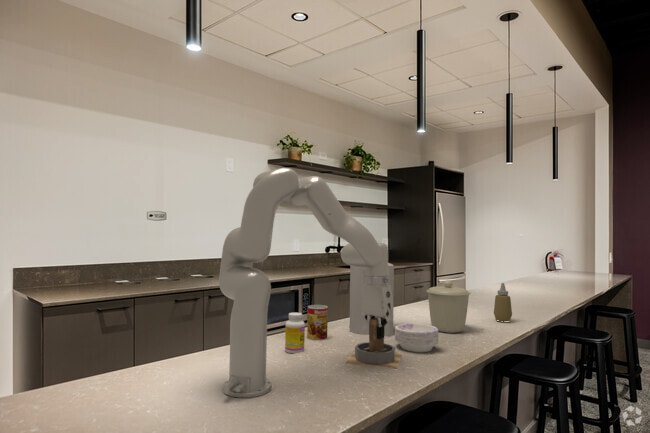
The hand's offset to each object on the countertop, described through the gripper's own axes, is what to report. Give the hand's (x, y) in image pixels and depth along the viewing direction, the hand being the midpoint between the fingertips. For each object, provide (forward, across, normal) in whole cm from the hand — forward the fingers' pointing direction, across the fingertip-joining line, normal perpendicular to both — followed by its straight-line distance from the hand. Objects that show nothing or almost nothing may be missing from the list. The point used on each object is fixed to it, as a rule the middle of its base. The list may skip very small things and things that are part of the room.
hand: (376, 336), depth 137 cm
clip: (+7, 0, +1) cm, 7 cm away
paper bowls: (+8, -2, -20) cm, 22 cm away
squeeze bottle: (+9, -2, -91) cm, 91 cm away
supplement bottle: (+7, +25, +14) cm, 29 cm away
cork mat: (+7, 0, +1) cm, 7 cm away
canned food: (+8, +33, -4) cm, 34 cm away
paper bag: (+8, +24, -30) cm, 39 cm away
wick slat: (+6, 0, 0) cm, 6 cm away
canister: (+9, +6, -55) cm, 56 cm away
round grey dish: (+7, 0, +1) cm, 7 cm away
